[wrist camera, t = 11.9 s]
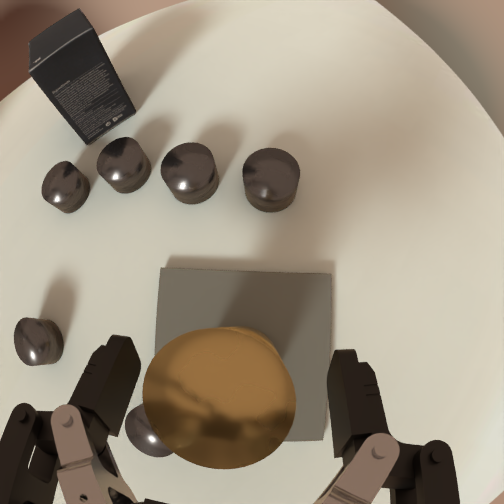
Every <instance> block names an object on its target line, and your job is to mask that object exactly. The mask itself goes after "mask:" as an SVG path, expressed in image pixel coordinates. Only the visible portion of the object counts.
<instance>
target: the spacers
mask: <svg viewBox="0 0 504 504" xmlns="http://www.w3.org/2000/svg"><path fill="white" fill-rule="evenodd" d="M97 170H98V173H99V174H100V175H101V176H102V177H103V178H104V179H105V180H106V181H107V182H108V183H109V184H110V185H111V186H112V187H113V188H114V189H115V190H116V191H117V192H119V193H131V192H134V191H136V190H138V189H139V188H140V187H142V186H143V185H144V183H145V182H146V181H147V179H148V178H149V175H150V172H151V164H150V161H149V160H148V158H147V156H146V155H145V153H144V152H143V150H142V149H141V147H140V146H139V144H138V143H137V141H136V140H134V139H133V138H129V137H122V138H118V139H116V140H114V141H112V142H111V143H109V144H108V145H107V146H106V147H105V148H104V149H103V150H102V152H101V153H100V155H99V157H98V161H97ZM161 175H162V178H163V180H164V181H165V183H166V184H167V186H168V187H169V189H170V190H171V192H172V193H173V195H174V196H175V198H176V199H177V200H179V201H180V202H182V203H185V204H199V203H202V202H204V201H206V200H207V199H209V198H210V197H211V196H212V195H213V194H214V193H215V191H216V189H217V187H218V184H219V176H218V172H217V169H216V165H215V162H214V159H213V155H212V153H211V151H210V150H209V149H208V148H207V147H206V146H204V145H202V144H199V143H184V144H181V145H178V146H176V147H175V148H173V149H172V150H171V151H169V152H168V153H167V155H166V156H165V157H164V159H163V161H162V164H161ZM299 177H300V169H299V165H298V163H297V161H296V160H295V159H294V157H292V156H291V155H290V154H289V153H287V152H286V151H283V150H281V149H276V148H265V149H261V150H258V151H256V152H254V153H253V154H251V155H250V156H249V157H248V158H247V160H246V161H245V163H244V166H243V181H244V188H245V194H246V197H247V199H248V201H249V202H250V204H251V205H252V206H254V207H255V208H256V209H258V210H261V211H264V212H278V211H281V210H283V209H285V208H287V207H288V206H289V205H290V204H291V203H292V202H293V200H294V198H295V195H296V190H297V186H298V182H299ZM89 190H90V183H89V180H88V179H87V177H86V176H85V175H83V174H82V173H81V172H80V171H79V170H78V169H77V168H76V167H75V166H74V165H73V164H72V163H71V162H68V161H63V162H60V163H58V164H56V165H55V166H54V167H53V168H52V169H51V170H50V171H49V172H48V173H47V175H46V177H45V179H44V181H43V184H42V196H43V198H44V199H45V200H46V201H47V202H49V203H50V204H52V205H53V206H55V207H56V208H58V209H59V210H61V211H62V212H64V213H72V212H75V211H76V210H78V209H79V208H80V207H81V206H82V205H83V204H84V202H85V201H86V199H87V197H88V194H89ZM14 344H15V349H16V352H17V354H18V356H19V358H20V359H21V360H22V361H23V362H24V363H25V364H26V365H29V366H36V365H47V364H54V363H56V362H57V361H58V360H59V359H60V358H61V356H62V352H63V338H62V334H61V332H60V330H59V328H58V326H57V325H56V324H55V323H54V322H52V321H50V320H45V319H35V318H22V319H21V320H20V321H19V322H18V323H17V325H16V328H15V332H14ZM125 430H126V434H127V436H128V438H129V440H130V441H131V443H132V444H133V445H134V446H135V447H136V448H137V449H138V450H140V451H141V452H143V453H145V454H147V455H149V456H153V457H165V456H168V455H170V454H172V453H173V452H172V451H171V450H170V449H169V448H168V447H167V446H166V445H164V444H163V442H162V441H161V440H160V439H159V438H158V437H157V435H156V434H155V432H154V431H153V429H152V427H151V425H150V423H149V421H148V419H147V416H146V413H145V409H144V405H143V403H142V404H141V405H139V406H137V407H136V408H134V409H132V410H131V411H130V412H129V413H128V415H127V417H126V420H125Z"/></svg>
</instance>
